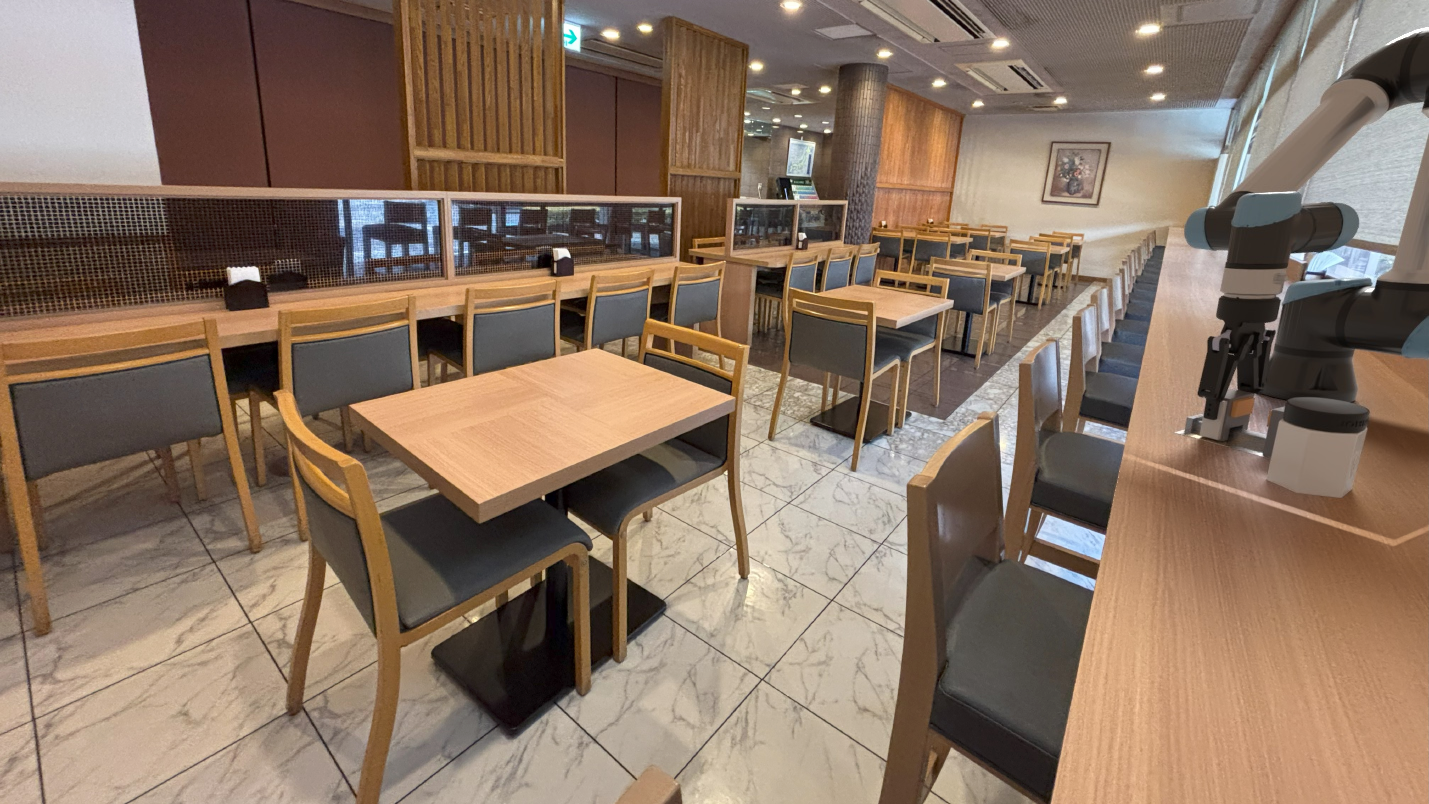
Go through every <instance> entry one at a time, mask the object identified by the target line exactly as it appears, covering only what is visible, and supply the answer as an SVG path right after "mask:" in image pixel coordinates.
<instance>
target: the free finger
mask: <svg viewBox="0 0 1429 804" xmlns="http://www.w3.org/2000/svg"><path fill="white" fill-rule="evenodd" d="M1253 397H1254V398H1253ZM1255 399H1256V397H1255V393H1250V392H1245V391H1240V390H1238V389H1235V388H1234V389H1233V388H1231V389H1228V391H1227V393H1226V396H1225V398H1224V401H1228V402H1227V407H1226V412H1225V417H1224V422H1223V428H1222V433H1221V438H1220V439H1219V441H1225V440H1228V435H1229V430H1230V428H1233V427H1238V428H1242V429H1246V430H1248V429H1247V428H1249V424H1250V419H1249V417H1250V418H1251V414H1253V410H1254V404H1255ZM1248 423H1249V424H1248ZM1204 437H1205V436H1204ZM1215 440H1216V439H1215Z"/></svg>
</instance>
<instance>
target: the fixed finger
mask: <svg viewBox="0 0 1429 804" xmlns="http://www.w3.org/2000/svg"><path fill="white" fill-rule="evenodd" d="M1284 409H1285V405H1284V406H1281V407H1276V408H1273V409H1270V410H1269V414H1268V417H1267V418H1268V419H1267V423H1266V427H1268V428H1267V431H1266V435H1267V436H1266V441H1265V445H1264V450H1263V454H1266V455H1270V456H1272V451H1273V447H1274V442H1275V438H1276V433H1277V429H1278V424H1279V421H1280V420H1282V419H1283V413H1284Z"/></svg>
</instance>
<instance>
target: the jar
mask: <svg viewBox="0 0 1429 804" xmlns="http://www.w3.org/2000/svg"><path fill="white" fill-rule="evenodd" d="M1284 406H1285V409H1284V413H1283V419H1282V420H1280V421H1279V424H1278V429H1277V433H1276V438H1275V442H1274V447H1273V451H1272V456H1271V459H1269V460H1270V461H1269V466H1268V470H1267V475H1266V481H1268V482H1271V483H1273V484H1276V485H1277V486H1280V487H1282V488H1284V489H1286V490H1290V491H1292V492H1293V493H1295V494H1304V495H1312V496H1321V497H1328V498H1338V499H1341V498H1342V499H1343V497H1344V496H1346V495H1347V494H1348V493H1349V492H1350V491H1352V490H1353V485H1354V482H1355V479H1356V474H1357V471H1358V468H1359V467H1358V466H1359V463H1360V459H1361V456H1362V451H1363V448H1364V444H1365V441H1366V437H1367V432H1368V427H1367V426H1368V424H1369V421H1370V414H1371V412H1370V409H1369V408H1367V407H1366V406H1364V405H1361V404H1357V403H1354V402H1346V401H1341V400H1334V399H1326V398H1315V397H1298V398H1291V399H1288V400H1286V401H1285V404H1284Z"/></svg>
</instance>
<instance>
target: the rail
mask: <svg viewBox="0 0 1429 804" xmlns="http://www.w3.org/2000/svg"><path fill="white" fill-rule="evenodd" d="M1203 414H1204V413H1199V414H1195V415H1194V414H1193V415H1191V416H1190V415H1189V416H1187V417H1186V421H1185V426H1184V429H1181V430H1179V431H1178V430H1177V431H1174V433H1173V434H1177V435H1180V436H1185V437H1188V438H1192V439H1195V440H1199V441H1203V442H1207V443H1211V444H1214V445H1218V446H1223V447H1226V448H1228V449H1233V450H1236V451H1239V452H1243V453H1247V454H1251V455H1255V456H1259V457H1262V458H1265V459H1269V460H1271V456H1270V455H1266V454H1263V450H1264V445H1265V441H1266V436H1267V433H1261V432H1258V431H1253V430H1249V429H1247V430H1246V429H1242V428H1238V427H1233V428H1230V430H1229V435H1228V440H1225V441H1219V440H1215V439H1212V438H1208V437H1204V436H1201V435H1200V430H1201V425H1202V419H1203Z"/></svg>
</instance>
